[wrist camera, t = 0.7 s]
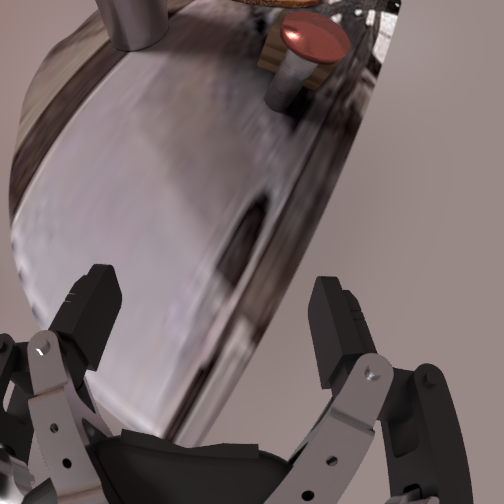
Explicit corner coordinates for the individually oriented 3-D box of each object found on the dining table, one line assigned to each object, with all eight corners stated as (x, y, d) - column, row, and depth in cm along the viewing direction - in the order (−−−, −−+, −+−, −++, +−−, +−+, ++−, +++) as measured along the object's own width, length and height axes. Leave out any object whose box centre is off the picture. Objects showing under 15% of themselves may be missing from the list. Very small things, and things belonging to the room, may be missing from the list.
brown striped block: (315, 91, 33) (340, 61, 25) (256, 66, 31) (269, 29, 23) (322, 69, 33) (347, 39, 25) (267, 45, 31) (282, 10, 23)
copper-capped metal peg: (292, 128, 32) (344, 69, 18) (245, 108, 31) (273, 37, 17) (317, 60, 32) (361, 2, 18) (278, 43, 31) (310, -22, 17)
